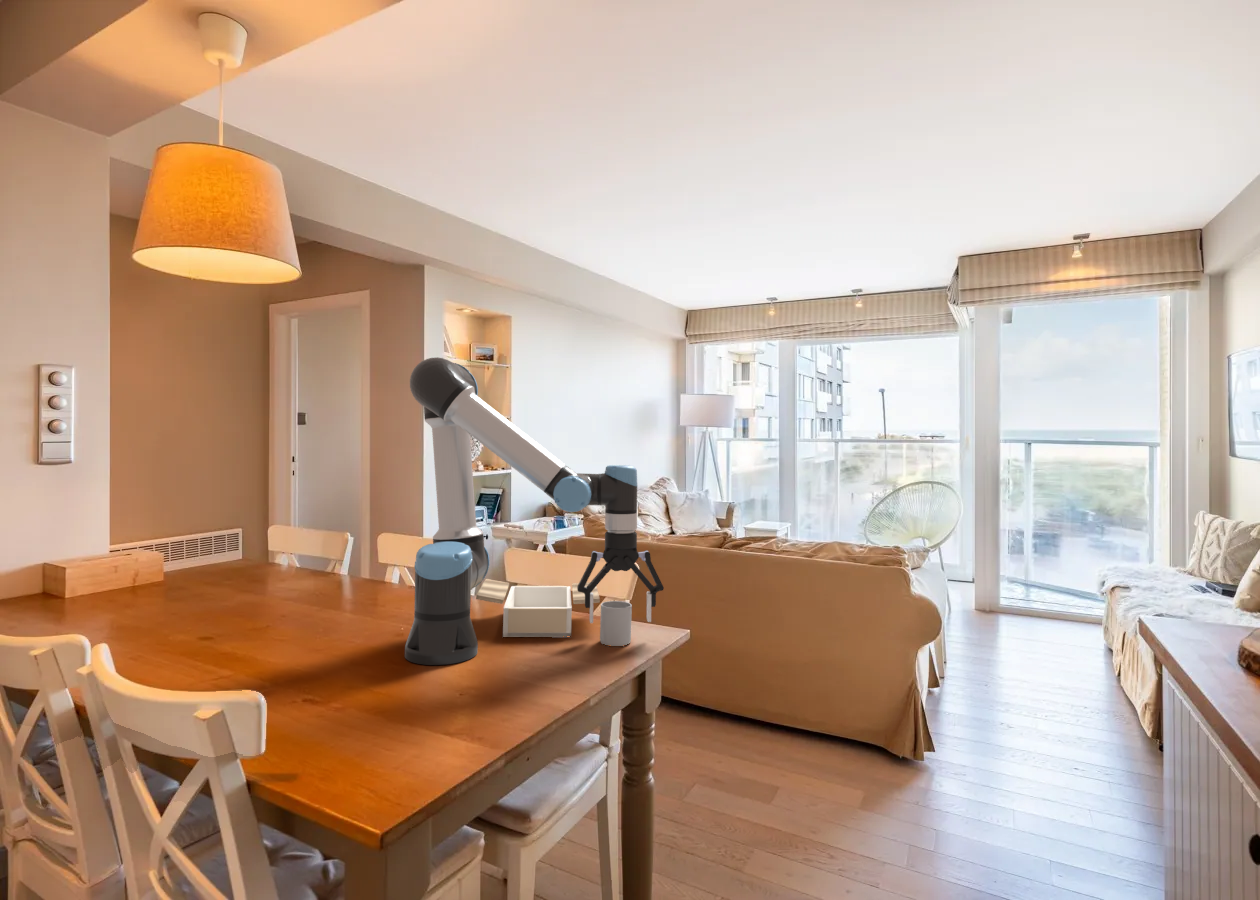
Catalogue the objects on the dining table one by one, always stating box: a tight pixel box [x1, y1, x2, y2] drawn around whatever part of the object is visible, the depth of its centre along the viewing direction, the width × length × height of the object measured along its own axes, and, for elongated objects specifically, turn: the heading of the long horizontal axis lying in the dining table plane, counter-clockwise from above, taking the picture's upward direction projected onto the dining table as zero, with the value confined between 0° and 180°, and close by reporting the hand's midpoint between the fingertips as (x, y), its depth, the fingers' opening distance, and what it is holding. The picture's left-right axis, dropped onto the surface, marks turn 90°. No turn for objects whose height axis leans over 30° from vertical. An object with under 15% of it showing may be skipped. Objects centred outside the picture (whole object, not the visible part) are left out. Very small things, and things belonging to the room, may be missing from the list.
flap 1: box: [475, 578, 510, 605], centre depth 167 cm, size 19×6×1 cm, turn 6°
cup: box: [599, 600, 633, 647], centre depth 156 cm, size 7×10×9 cm
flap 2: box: [571, 581, 601, 605], centre depth 170 cm, size 19×6×1 cm, turn 6°
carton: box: [502, 585, 573, 638], centre depth 168 cm, size 25×16×7 cm, turn 6°
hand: (620, 621), depth 156 cm, fingers open, 13 cm apart
